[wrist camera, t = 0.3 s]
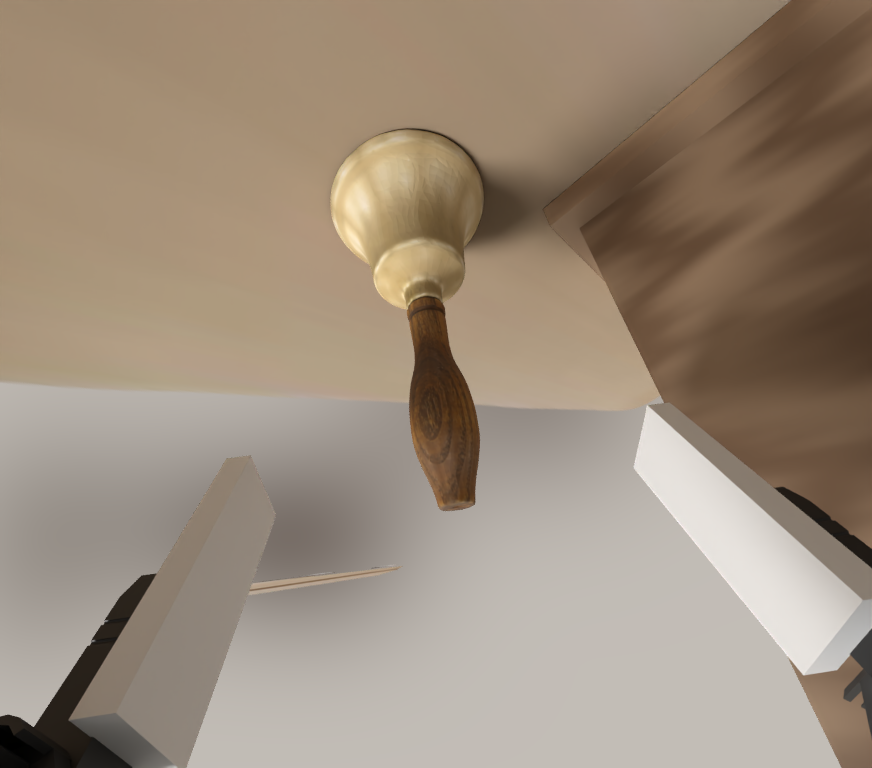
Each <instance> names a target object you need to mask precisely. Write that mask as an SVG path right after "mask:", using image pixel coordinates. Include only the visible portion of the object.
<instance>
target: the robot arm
mask: <svg viewBox="0 0 872 768" xmlns="http://www.w3.org/2000/svg"><path fill="white" fill-rule="evenodd" d="M634 469H635V470H636V471H637V473H638V474H639V475H640V476H641V478H642V479H643V480H644V481H645V483H646V484H647V485H648V486H649V487H650V489H651V490H652V491H653V492H654V494H656V496H657V497H658V498H659V500H660V501H661V502H662V503H663V504H664V506H665V507H666V508H667V509H668V511H669V512H670V513H671V514H672V515H673V517H674V518H675V519H676V520H677V522H678V523H679V524H680V525H681V527H682V528H683V529H684V530H685V531H686V533H687V534H688V535H689V536H690V537H691V539H692V540H693V541H694V542H695V544H696V545H697V546H698V547H699V549H700V550H701V551H702V552H703V553H704V555H705V556H706V557H707V558H708V559H709V561H710V562H711V563H712V564H713V566H714V567H715V568H716V569H717V570H718V572H719V573H720V574H721V575H722V577H723V578H724V579H725V580H726V581H727V583H728V584H729V585H730V586H731V588H732V589H733V590H734V591H735V593H736V594H737V595H738V596H739V597H740V599H741V600H742V601H743V602H744V603H745V604H746V606H747V607H748V608H749V610H750V611H751V612H752V613H753V614H754V616H755V617H756V618H757V619H758V621H759V622H760V623H761V624H762V625H763V627H764V628H765V629H766V630H767V631H768V633H769V634H770V635H771V636H772V638H773V639H774V640H775V641H776V643H777V644H778V645H779V646H780V647H781V649H782V650H783V651H784V652H785V654H786V655H787V656H788V657H789V658H790V660H791V661H792V662H793V663H794V665H795V666H796V667H797V668H798V669H799V671H800V672H801V673H802V674H803V675H810V674H816V673H822V672H829V671H835V670H838V669H839V667H840V666H841V665H842V664H843V663H844V662H845V661H846V659H847V658H848V657H849V656H850V655H851V656H852V657H853V658H854V659H855V660H856V661H857V663H858V664H859V665H860V666H861V667H862V668H863V670H862V671H861V672H860V673H859V674H858V675H857V676H856V677H855V678H854V679H853V681H852V682H851V683H850V684H849V685H848V686H847V687H846V688H845V689H844V697H843V699H845V700H847V701H849V702H851V701H852V700H853V699H854V698H855V697H856V696H857V695H858V694H859V693H860V692H861V691H862V696H863V700H864V702H863V704H862V705H861V707H862V708H864V709H865V710H866V715H867V719H868V724H869V729H870V733H871V738H872V549H871V548H870V547H869V546H867V545H866V544H865V543H864V542H862V541H861V540H860V539H858V538H857V537H856V536H855V535H850V534H849V531H848V530H847V529H846V528H844V527H843V526H842V525H840V524H839V523H838V522H837V521H835V520H834V521H833V520H831V517H830V516H829V515H828V514H826V513H825V512H824V511H822V510H821V509H820V508H819V507H817V506H816V505H815V504H813V503H812V502H811V501H810V500H808V499H806V498H804V497H802V496H800V495H798V494H796V493H795V492H793V491H791V490H789V489H787V488H785V487H776V488H773V487H772V486H771V485H770V484H768V483H767V482H766V481H765V480H764V479H762V478H761V477H760V476H759V475H757V474H756V473H755V472H754V471H753V470H751V469H750V468H749V467H748V466H746V465H745V464H744V463H743V462H742V461H740V460H739V459H738V458H737V457H736V456H734V455H733V454H732V453H731V452H729V451H728V450H727V449H726V448H725V447H723V446H722V445H721V444H720V443H718V442H717V441H716V440H715V439H714V438H712V437H711V436H710V435H709V434H707V433H706V432H705V431H704V430H703V429H701V428H700V427H699V426H698V425H696V424H695V423H694V422H693V421H692V420H690V419H689V418H688V417H687V416H686V415H684V414H683V413H682V412H681V411H679V410H678V409H677V408H676V407H675V406H673V405H672V404H671V403H662V404H655V405H648V406H647V410H646V415H645V419H644V424H643V428H642V432H641V437H640V441H639V446H638V450H637V455H636V459H635V464H634ZM275 517H276V514H275V512H274V509H273V507H272V504H271V502H270V500H269V498H268V495H267V493H266V490H265V488H264V485H263V483H262V481H261V478H260V476H259V474H258V471H257V469H256V466H255V464H254V462H253V460H252V457H251V456H243V457H235V458H227V459H226V461H225V462H224V464H223V465H222V467H221V469H220V470H219V472H218V474H217V475H216V477H215V479H214V480H213V482H212V484H211V485H210V487H209V489H208V490H207V492H206V494H205V495H204V497H203V499H202V500H201V502H200V503H199V505H198V507H197V508H196V510H195V512H194V513H193V515H192V517H191V518H190V520H189V522H188V523H187V525H186V527H185V528H184V530H183V532H182V533H181V535H180V536H179V538H178V540H177V542H176V543H175V545H174V546H173V548H172V550H171V551H170V553H169V555H168V556H167V558H166V560H165V561H164V563H163V565H162V566H161V568H160V570H159V571H158V573H157V574H150V575H143V576H141V577H140V578H139V579H138V580H137V581H136V582H135V583H134V584H133V585H132V586H131V587H130V588H129V589H128V590H127V591H126V592H124V594H123V595H122V596H120V598H119V599H118V601H117V602H116V604H115V605H114V607H113V608H112V610H111V611H110V613H109V615H108V616H107V617H106V619H105V623H104V625H101V626H100V628H99V629H98V631H97V632H96V634H95V636H94V637H93V639H92V640H91V642H92V643H91V645H90V646H87V648H86V649H85V651H84V652H83V654H82V655H81V657H80V658H79V660H78V661H77V663H76V664H75V666H74V667H73V669H72V670H71V672H70V674H69V675H68V676H67V678H66V679H65V681H64V682H63V684H62V686H61V687H60V689H59V690H58V692H57V693H56V695H55V696H54V698H53V699H52V701H51V702H50V704H49V705H48V707H47V708H46V710H45V711H44V713H43V714H42V716H41V717H40V719H39V720H38V722H37V723H36V725H35V726H34V727H32V726H31V725H29V724H28V723H27V722H25V721H24V720H22V719H21V718H19V717H15V716H12V715H5V716H1V717H0V768H186V767H187V764H188V761H189V758H190V756H191V753H192V750H193V747H194V744H195V742H196V738H197V736H198V733H199V730H200V727H201V725H202V722H203V719H204V716H205V713H206V711H207V708H208V705H209V702H210V700H211V697H212V694H213V691H214V688H215V686H216V683H217V680H218V677H219V674H220V671H221V669H222V666H223V663H224V660H225V658H226V655H227V652H228V649H229V646H230V643H231V641H232V638H233V635H234V632H235V629H236V627H237V623H238V621H239V618H240V615H241V613H242V610H243V607H244V604H245V601H246V598H247V596H248V593H249V590H250V587H251V585H252V582H253V579H254V576H255V573H256V571H257V568H258V565H259V562H260V559H261V557H262V553H263V551H264V548H265V545H266V543H267V540H268V537H269V534H270V531H271V528H272V526H273V523H274V520H275Z"/></svg>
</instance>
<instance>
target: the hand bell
mask: <svg viewBox="0 0 872 768" xmlns="http://www.w3.org/2000/svg"><path fill="white" fill-rule="evenodd" d="M483 204H484V192H483V186H482V181H481V178H480V175H479V173H478V170H477V168H476V167H475V165H474V163H473V162H472V160H471V159H470V158H469V156H468V155H467V154H466V153H465V152H464V151H463V150H462V149H461V148H460V147H459V146H457V145H456V144H455V143H453V142H451V141H450V140H448V139H447V138H445V137H443V136H440V135H438V134H435V133H431V132H427V131H421V130H409V129H406V130H396V131H391V132H387V133H383V134H380V135H378V136H375V137H373V138H372V139H370V140H368V141H366V142H365V143H363V144H362V145H361V146H359V147H358V148H357V149H356V150H355V151H354V152H353V153H352V154H351V155H350V156H348V157H347V158H346V160H345V161H344V163H343V164H342V166H341V167H340V169H339V170H338V173H337V175H336V177H335V179H334V182H333V186H332V190H331V198H330V206H331V215H332V219H333V223H334V226H335V228H336V230H337V232H338V234H339V236H340V238H341V239H342V241H343V242H344V243H345V244H346V246H347V247H348V248H349V249H350V250H351V251H352V252H353V253H354V254H355V255H356V256H357V257H359V258H360V259H361V260H363V261H365V262H366V263H368V264H369V265H370V267H371V271H372V275H373V280H374V284H375V286H376V288H377V290H378V292H379V293H380V295H381V296H382V297H383V298H384V299H385V300H386V301H388V302H389V303H391V304H392V305H394V306H397V307H399V308H403V309H407V316H408V320H409V322H410V330H411V334H412V340H413V345H414V352H415V366H414V372H413V377H412V381H411V387H410V400H409V412H410V425H411V433H412V439H413V444H414V448H415V451H416V454H417V457H418V459H419V462H420V464H421V467H422V469H423V471H424V473H425V475H426V477H427V479H428V481H429V483H430V485H431V487H432V489H433V492H434V494H435V497H436V500H437V504H438V507H439V508H440V509H441V510H443V511H454V510H462V509H465V508H469V507H471V506H473V505H475V486H476V475H477V468H478V461H479V448H480V436H479V435H480V434H479V426H478V421H477V415H476V410H475V406H474V403H473V400H472V396H471V394H470V391H469V388H468V385H467V383H466V381H465V379H464V377H463V375H462V373H461V371H460V370H459V368H458V366H457V365H456V363H455V361H454V359H453V356H452V353H451V350H450V346H449V340H448V333H447V325H446V319H445V308H444V305H443V303H444V302H445V301H447V300H449V299H450V298H451V297H452V296H453V295H454V294H455V293H456V292H457V291H458V289H459V288H460V286H461V284H462V282H463V279H464V276H465V262H464V247H465V246H466V245H467V244H468V242H469V241H470V240H471V238H472V237H473V235H474V233H475V231H476V229H477V227H478V224H479V222H480V219H481V216H482V211H483Z"/></svg>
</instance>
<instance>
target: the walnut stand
mask: <svg viewBox="0 0 872 768" xmlns="http://www.w3.org/2000/svg"><path fill="white" fill-rule="evenodd" d="M543 211H544V213H545V216H546V218H547V220H548V223H549V225H550V227H551V228H552V229H553V230H554V231H555V232H556V233H557V234H558V235H559V236H560V237H561V238H562V239H563V240H564V241H565V242H566V243H567V244H568V245H569V246H570V247H571V248H572V249H573V250H574V251H575V252H576V253H577V254H578V255H579V256H580V257H581V258H582V259H583V260H584V261H585V262H586V263H587V264H588V265H589V266H590V267H591V268H592V269H593V270H594V271H595V272H596V273H597V274H598V275H599V276H600V277H601V278H602V279H603V280H604V281H605V282H606V284H607V286H608V288H609V291H610V293H611V295H612V297H613V299H614V301H615V303H616V305H617V307H618V309H619V311H620V313H621V315H622V317H623V319H624V321H625V323H626V325H627V327H628V330H629V332H630V334H631V336H632V338H633V340H634V342H635V344H636V346H637V348H638V350H639V352H640V354H641V356H642V358H643V360H644V362H645V364H646V367H647V369H648V371H649V373H650V375H651V377H652V379H653V381H654V383H655V385H656V387H657V389H658V391H659V393H660V395H661V397H662V399H663V401H664V403H671V404H672V405H673V406H675V407H676V408H677V409H678V410H679V411H681V412H682V413H683V414H684V415H686V416H687V417H688V418H689V419H690V420H692V421H693V422H694V423H695V424H696V425H698V426H699V427H700V428H701V429H703V430H704V431H705V432H706V433H707V434H709V435H710V436H711V437H712V438H714V439H715V440H716V441H717V442H718V443H720V444H721V445H722V446H723V447H725V448H726V449H727V450H728V451H729V452H731V453H732V454H733V455H734V456H736V457H737V458H738V459H739V460H740V461H742V462H743V463H744V464H745V465H746V466H748V467H749V468H750V469H751V470H753V471H754V472H755V473H756V474H757V475H759V476H760V477H761V478H762V479H764V480H765V481H766V482H767V483H768V484H770V485H771V486H772V487H773V488H776V487H785V488H787V489H789V490H791V491H793V492H795V493H796V494H798V495H800V496H802V497H804V498H806V499H808V500H810V501H811V502H812V503H813V504H815V505H816V506H817V507H819V508H820V509H821V510H822V511H824V512H825V513H826V514H828V515H829V516H830V517H831V520H833V521H834V520H835V521H837V522H838V523H839V524H840V525H842V526H843V527H844V528H846V529H847V530H848V531H849V534H850V535H855V536H856V537H857V538H858V539H860V540H861V541H862V542H864V543H865V544H866V545H867V546H869V547H870V548H871V549H872V0H791V1H790V2H789V3H788V4H787V5H785V6H784V7H783V8H782V9H781V10H780V11H778V12H777V13H776V14H775V15H774V16H772V17H771V18H770V19H769V20H768V21H766V22H765V23H764V24H763V25H762V26H760V27H759V28H758V29H757V30H756V31H755V32H753V33H752V34H751V35H750V36H749V37H747V38H746V39H745V40H744V41H743V42H741V43H740V44H739V45H738V46H737V47H735V48H734V49H733V50H732V51H731V52H730V53H728V54H727V55H726V56H725V57H724V58H722V59H721V60H720V61H719V62H718V63H716V64H715V65H714V66H713V67H712V68H711V69H709V70H708V71H707V72H706V73H705V74H703V75H702V76H701V77H700V78H699V79H697V80H696V81H695V82H694V83H693V84H691V85H690V86H689V87H688V88H687V89H686V90H684V91H683V92H682V93H681V94H680V95H678V96H677V97H676V98H675V99H674V100H672V101H671V102H670V103H669V104H668V105H666V106H665V107H664V108H663V109H662V110H661V111H659V112H658V113H657V114H656V115H655V116H653V117H652V118H651V119H650V120H649V121H647V122H646V123H645V124H644V125H643V126H642V127H640V128H639V129H638V130H637V131H636V132H634V133H633V134H632V135H631V136H630V137H628V138H627V139H626V140H625V141H624V142H622V143H621V144H620V145H619V146H618V147H617V148H615V149H614V150H613V151H612V152H611V153H609V154H608V155H607V156H606V157H605V158H603V159H602V160H601V161H600V162H599V163H597V164H596V165H595V166H594V167H593V168H592V169H590V170H589V171H588V172H587V173H586V174H584V175H583V176H582V177H581V178H580V179H578V180H577V181H576V182H575V183H574V184H572V185H571V186H570V187H569V188H568V189H567V190H565V191H564V192H563V193H562V194H561V195H559V196H558V197H557V198H556V199H555V200H553V201H552V202H551V203H550V204H549V205H548V206H546V207H545V208H544V209H543ZM788 658H789V657H788ZM789 660H790V658H789ZM790 662H791V665H792V667H793V669H794V670H795V673H796V675H797V677H798V679H799V681H800V683H801V685H802V687H803V689H804V691H805V693H806V695H807V697H808V699H809V702H810V703H811V706H812V707H813V710H814V712H815V714H816V716H817V718H818V720H819V722H820V724H821V726H822V728H823V730H824V732H825V734H826V736H827V738H828V740H829V743H830V745H831V747H832V749H833V751H834V753H835V755H836V757H837V759H838V761H839V763H840V765H841V767H842V768H872V738H871V733H870V729H869V724H868V719H867V715H866V710H865V709H864V708H862V707H861V705H862V704H863V702H864V700H863V696H862V691H861V692H860V693H859V694H858V695H857V696H856V697H855V698H854V699H853V700H852V701H851V702H849V701H847V700H845V699H843V697H844V689H845V688H846V687H847V686H848V685H849V684H850V683H851V682H852V681H853V679H854V678H855V677H856V676H857V675H858V674H859V673H860V672H861V671H862V670H863V668H862V667H861V666H860V665H859V664H858V663H857V661H856V660H855V659H854V658H853V657H852V656H851V655H850V656H849V657H848V658H847V659H846V661H845V662H844V663H843V664H842V665H841V666H840V667H839V669H838V670H835V671H829V672H822V673H816V674H810V675H803V674H802V673H801V672H800V671H799V669H798V668H797V667H796V666H795V665H794V663H793V662H792V661H791V660H790Z"/></svg>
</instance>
